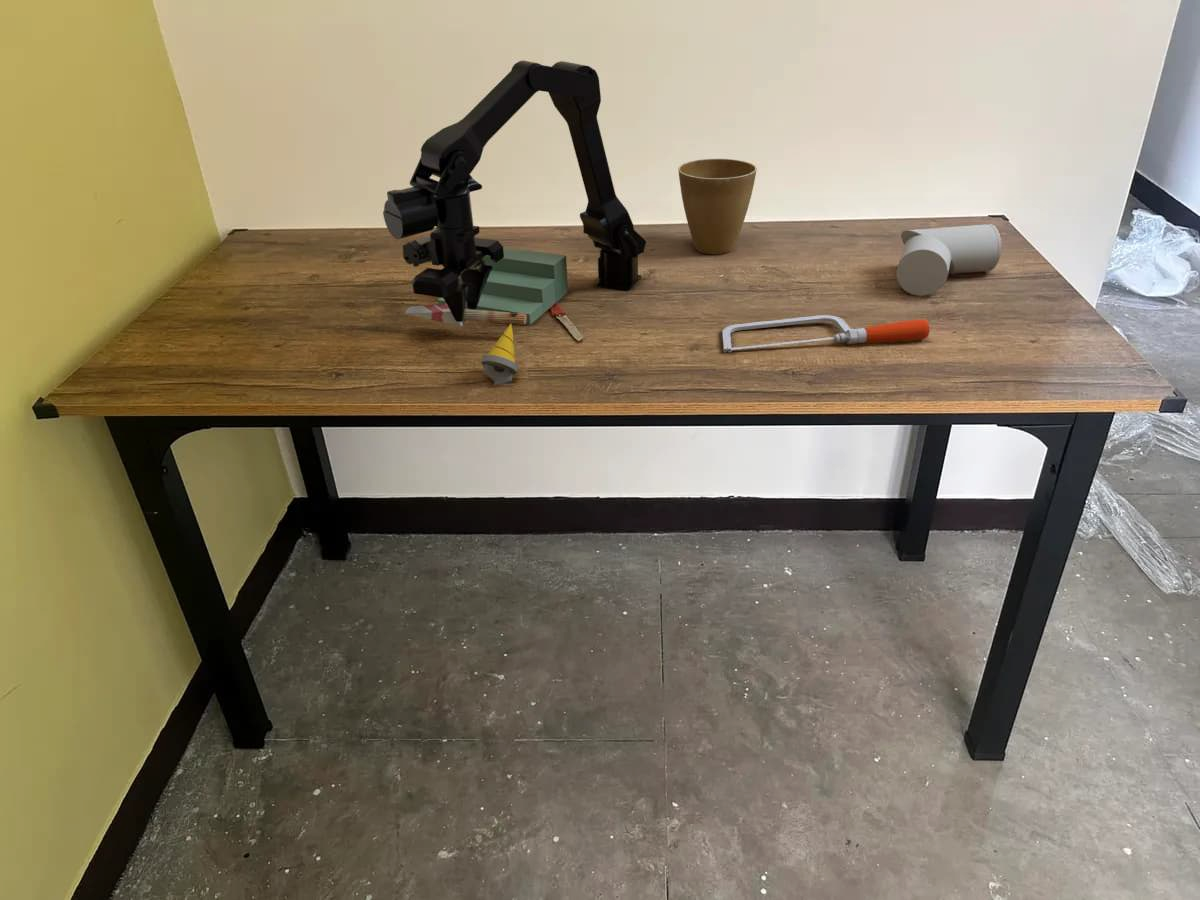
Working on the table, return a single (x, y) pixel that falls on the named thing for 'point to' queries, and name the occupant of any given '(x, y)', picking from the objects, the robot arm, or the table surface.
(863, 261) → the table surface
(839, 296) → the table surface
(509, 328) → the yellow cone with collar
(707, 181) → the plant pot
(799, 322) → the hand saw
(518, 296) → the staircase
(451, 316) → the paintbrush
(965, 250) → the l-shaped cylinder
